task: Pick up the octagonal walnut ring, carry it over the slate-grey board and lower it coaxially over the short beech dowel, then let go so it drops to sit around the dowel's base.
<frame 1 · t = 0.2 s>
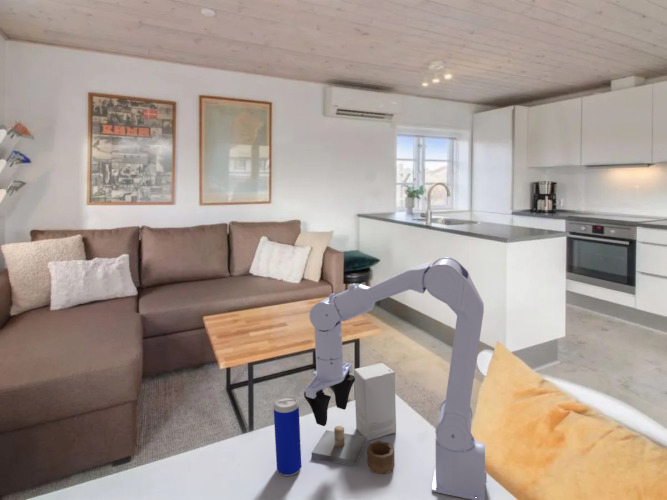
hand: (331, 415, 86), 10 cm above the table, fingers open, 7 cm apart
walnut ring: (380, 464, 85), on the table
dowel stand: (339, 449, 91), on the table
skincare box: (375, 431, 97), on the table
beverage can: (289, 470, 84), on the table
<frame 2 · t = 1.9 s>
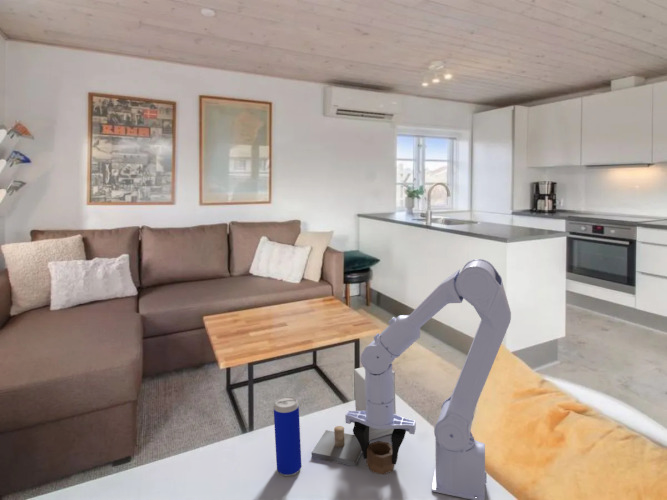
hand: (380, 458, 85), 1 cm above the table, fingers closed on walnut ring, 5 cm apart
walnut ring: (380, 464, 85), on the table, touching gripper
everything else where it was.
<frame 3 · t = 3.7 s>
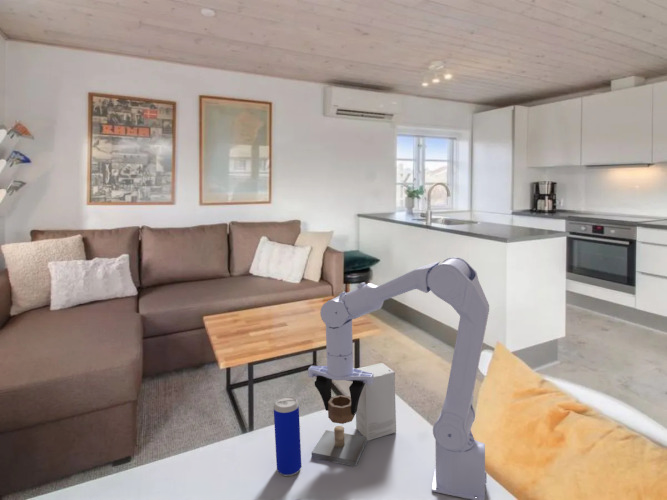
hand: (341, 410, 89), 10 cm above the table, fingers closed on walnut ring, 5 cm apart
walnut ring: (341, 416, 89), point 8 cm above the table, touching gripper
everything else where it was.
when the fingers open (4 cm above the table, at t = 5.6 s): walnut ring drops 2 cm, resting on dowel stand.
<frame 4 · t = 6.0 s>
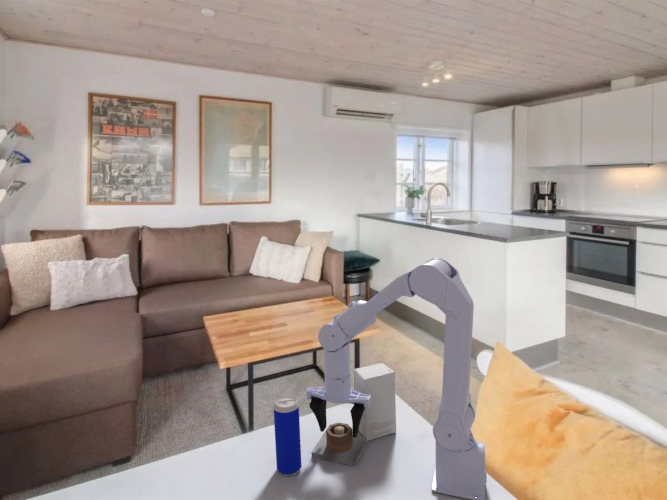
hand: (339, 432, 90), 4 cm above the table, fingers open, 7 cm apart
walnut ring: (339, 444, 90), point 1 cm above the table, touching dowel stand
everything else where it was.
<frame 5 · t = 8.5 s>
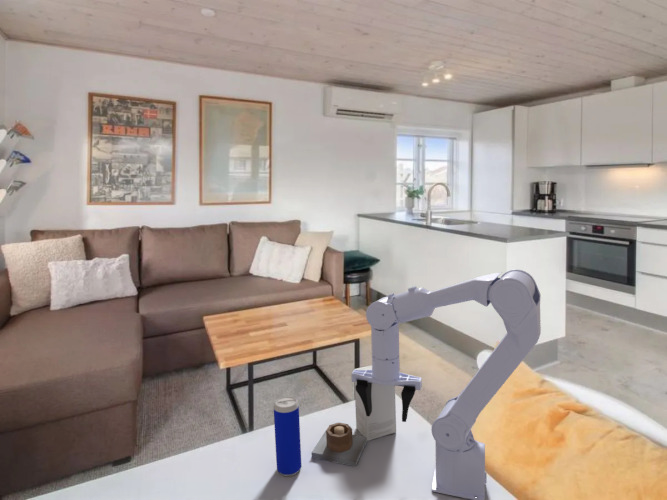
hand: (386, 416, 85), 10 cm above the table, fingers open, 7 cm apart
nothing on the table moved.
at the end: walnut ring 0.0 cm off-centre on the dowel stand, point 1.2 cm above the dowel stand's base; walnut ring tilted 0°; the gripper is holding nothing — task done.
